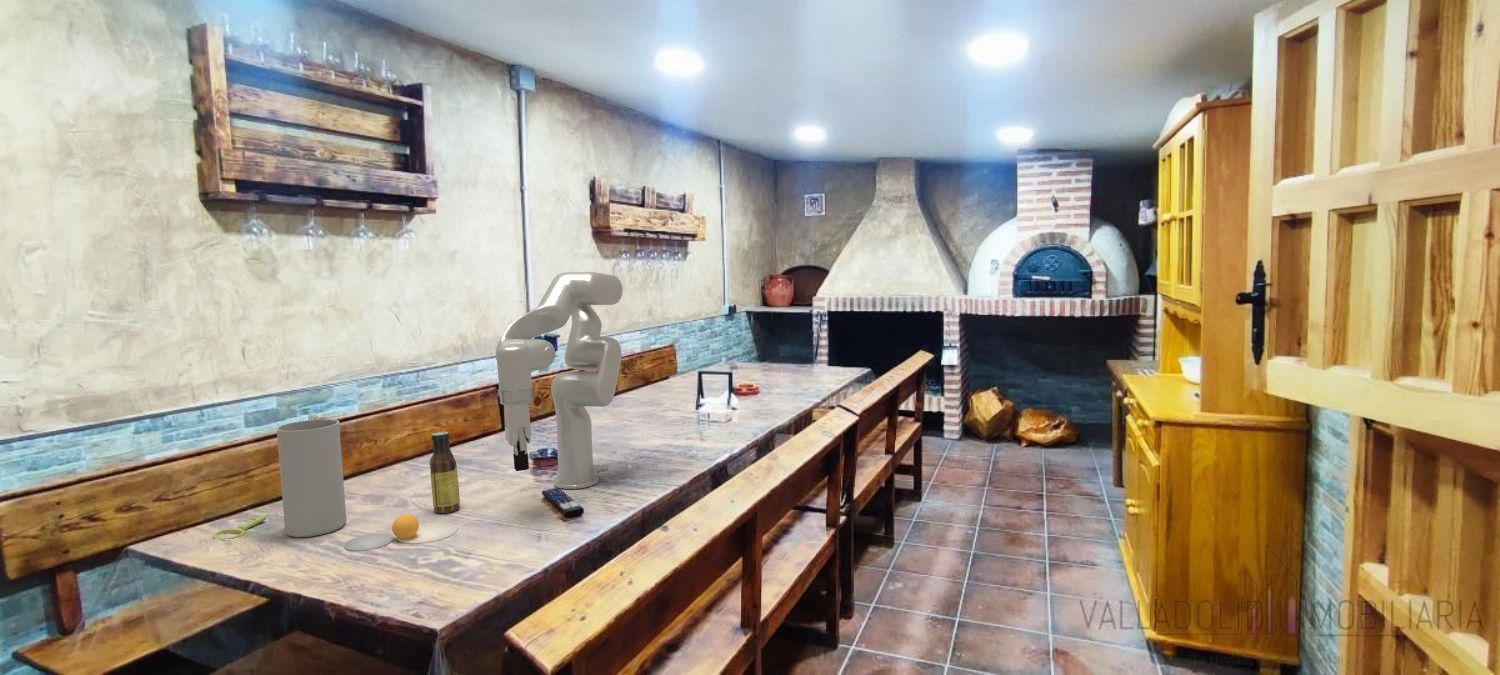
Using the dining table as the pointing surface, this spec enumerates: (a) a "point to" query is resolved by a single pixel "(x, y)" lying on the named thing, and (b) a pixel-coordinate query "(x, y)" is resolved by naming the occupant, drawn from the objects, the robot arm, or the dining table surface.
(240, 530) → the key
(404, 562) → the dining table surface
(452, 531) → the disc
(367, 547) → the disc
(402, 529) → the ball
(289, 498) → the cylinder vase
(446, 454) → the sauce bottle
